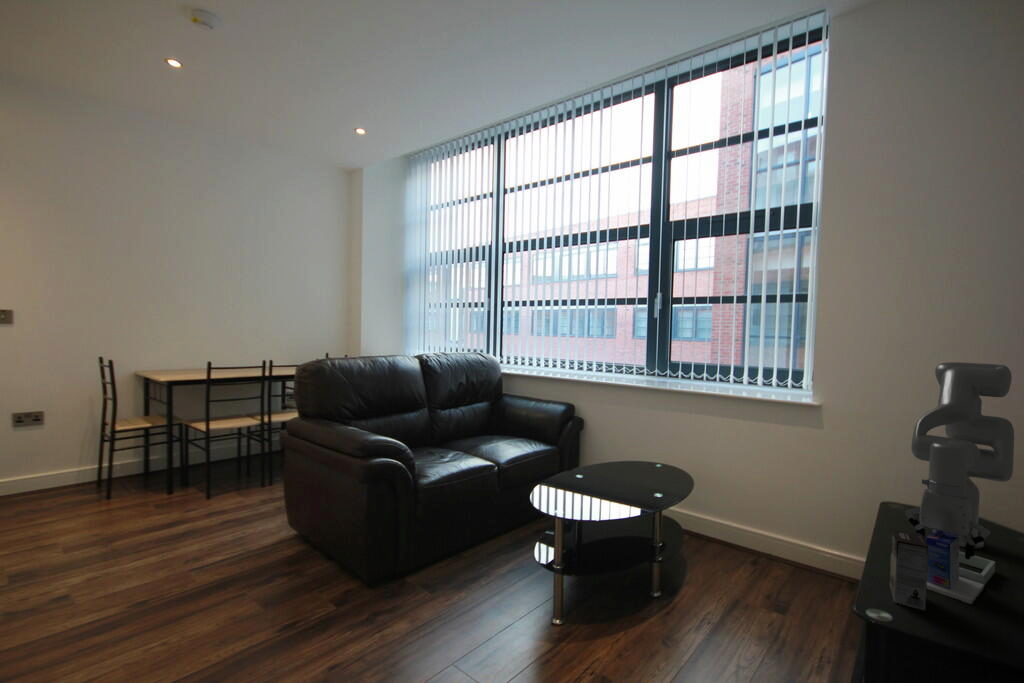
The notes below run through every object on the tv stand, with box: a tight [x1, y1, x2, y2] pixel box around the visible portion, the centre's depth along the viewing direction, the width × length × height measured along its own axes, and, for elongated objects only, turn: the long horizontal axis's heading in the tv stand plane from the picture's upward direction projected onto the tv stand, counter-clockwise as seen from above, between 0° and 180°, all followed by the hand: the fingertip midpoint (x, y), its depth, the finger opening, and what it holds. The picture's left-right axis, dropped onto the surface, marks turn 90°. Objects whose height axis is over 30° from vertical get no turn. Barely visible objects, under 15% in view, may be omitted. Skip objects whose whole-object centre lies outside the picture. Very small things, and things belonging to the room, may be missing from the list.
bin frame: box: [959, 550, 996, 586], centre depth 139 cm, size 15×16×3 cm
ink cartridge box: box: [925, 529, 960, 589], centre depth 129 cm, size 10×6×14 cm, turn 127°
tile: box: [926, 576, 985, 605], centre depth 129 cm, size 14×14×1 cm
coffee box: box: [889, 528, 929, 611], centre depth 121 cm, size 9×6×16 cm
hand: (944, 550), depth 129 cm, fingers open, 9 cm apart
